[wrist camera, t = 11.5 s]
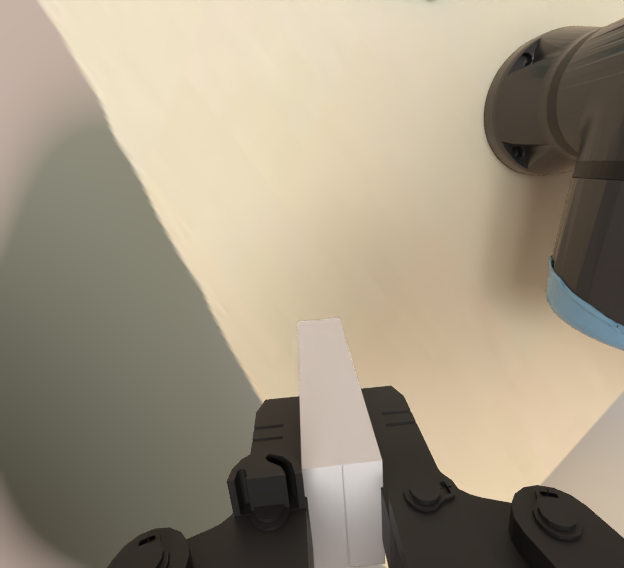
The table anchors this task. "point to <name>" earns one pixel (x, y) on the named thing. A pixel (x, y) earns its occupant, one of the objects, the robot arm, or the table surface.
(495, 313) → the table surface
